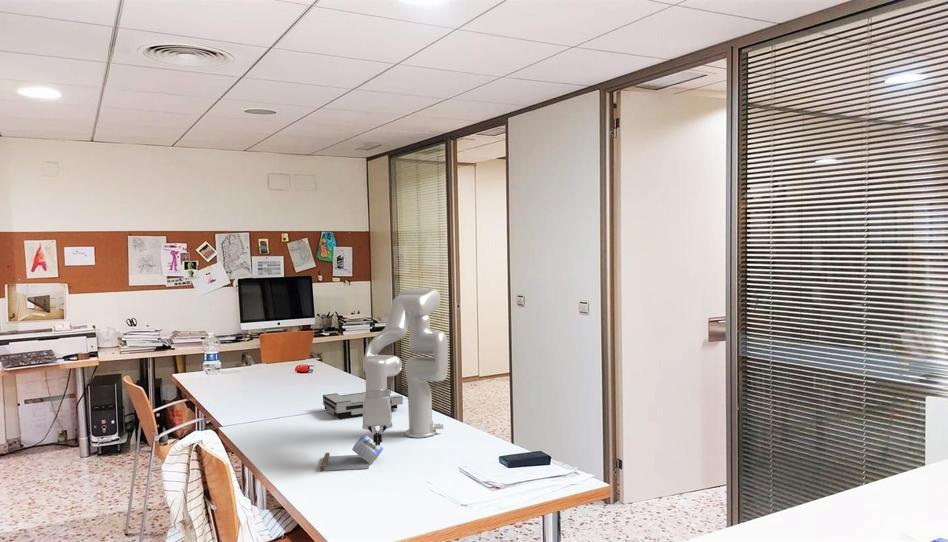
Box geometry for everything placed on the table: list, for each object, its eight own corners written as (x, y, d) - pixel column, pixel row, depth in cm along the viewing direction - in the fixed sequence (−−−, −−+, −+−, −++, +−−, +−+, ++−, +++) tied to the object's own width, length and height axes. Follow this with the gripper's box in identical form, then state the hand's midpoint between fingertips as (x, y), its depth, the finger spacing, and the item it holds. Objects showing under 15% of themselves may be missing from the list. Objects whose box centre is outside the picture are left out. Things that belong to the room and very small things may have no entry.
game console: (403, 411, 319) (402, 394, 318) (337, 421, 303) (336, 403, 303) (386, 403, 337) (386, 387, 337) (323, 412, 321) (322, 395, 321)
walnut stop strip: (329, 457, 249) (329, 452, 249) (324, 471, 233) (324, 466, 233) (325, 457, 249) (325, 452, 248) (320, 471, 233) (320, 466, 233)
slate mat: (370, 455, 250) (370, 454, 250) (368, 469, 234) (368, 467, 234) (326, 457, 249) (326, 456, 249) (321, 471, 233) (321, 470, 233)
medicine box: (377, 455, 239) (358, 439, 239) (370, 464, 239) (351, 449, 240) (383, 448, 246) (365, 433, 247) (376, 457, 247) (358, 443, 248)
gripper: (397, 390, 246) (398, 440, 247) (356, 392, 245) (357, 442, 245) (397, 394, 239) (398, 446, 239) (354, 396, 237) (355, 448, 238)
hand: (377, 444), depth 242 cm, fingers closed
